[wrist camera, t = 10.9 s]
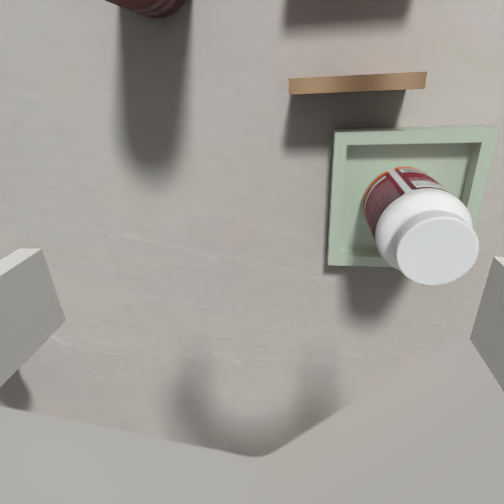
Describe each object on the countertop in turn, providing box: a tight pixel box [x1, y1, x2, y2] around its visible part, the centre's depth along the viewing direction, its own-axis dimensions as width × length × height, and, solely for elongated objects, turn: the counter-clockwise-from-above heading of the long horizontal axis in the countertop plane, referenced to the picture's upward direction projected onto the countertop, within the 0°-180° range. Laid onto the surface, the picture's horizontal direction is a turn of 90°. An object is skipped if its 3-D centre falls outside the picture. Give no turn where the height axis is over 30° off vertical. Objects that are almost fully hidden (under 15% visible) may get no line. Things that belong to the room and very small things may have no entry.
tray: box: [327, 125, 500, 267], centre depth 31 cm, size 12×12×2 cm
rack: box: [289, 72, 427, 94], centre depth 24 cm, size 9×10×5 cm
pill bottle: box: [362, 166, 479, 286], centre depth 26 cm, size 6×6×11 cm
